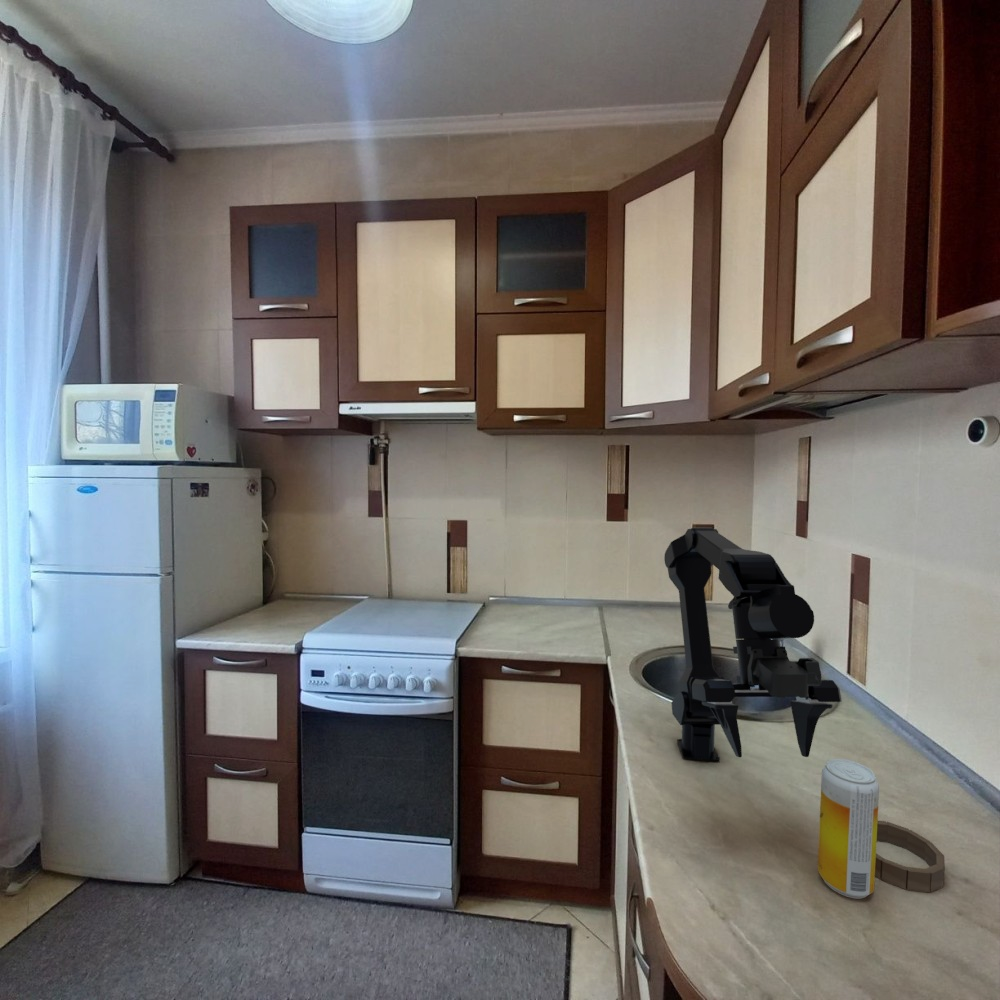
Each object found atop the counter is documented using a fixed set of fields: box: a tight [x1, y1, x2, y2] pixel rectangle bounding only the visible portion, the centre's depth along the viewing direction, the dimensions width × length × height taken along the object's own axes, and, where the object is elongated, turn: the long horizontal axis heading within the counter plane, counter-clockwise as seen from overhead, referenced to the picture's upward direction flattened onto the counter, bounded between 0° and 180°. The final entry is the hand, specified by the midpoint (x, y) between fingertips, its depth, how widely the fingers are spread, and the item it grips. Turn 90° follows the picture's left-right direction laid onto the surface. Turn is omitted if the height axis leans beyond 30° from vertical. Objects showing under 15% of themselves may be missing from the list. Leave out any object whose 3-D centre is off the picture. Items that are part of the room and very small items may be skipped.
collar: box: [875, 820, 946, 893], centre depth 72 cm, size 10×10×2 cm
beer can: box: [817, 758, 880, 900], centre depth 68 cm, size 6×6×15 cm
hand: (772, 756), depth 73 cm, fingers open, 9 cm apart
